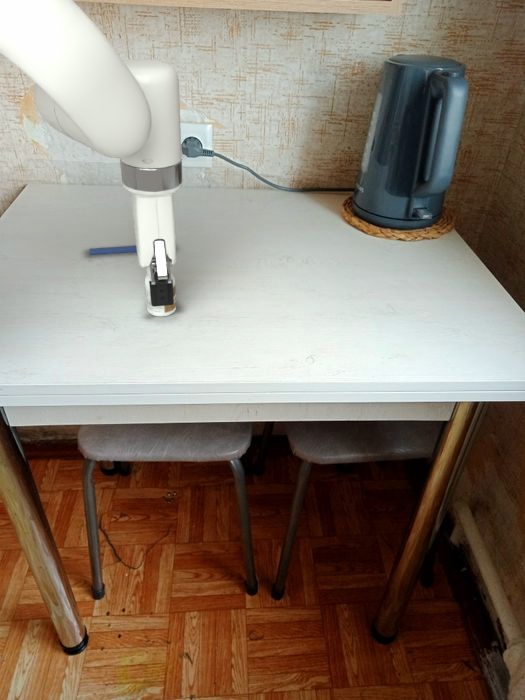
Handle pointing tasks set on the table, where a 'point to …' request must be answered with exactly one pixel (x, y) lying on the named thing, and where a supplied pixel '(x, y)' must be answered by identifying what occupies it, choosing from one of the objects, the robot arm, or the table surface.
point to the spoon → (113, 250)
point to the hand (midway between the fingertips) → (160, 293)
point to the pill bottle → (152, 310)
